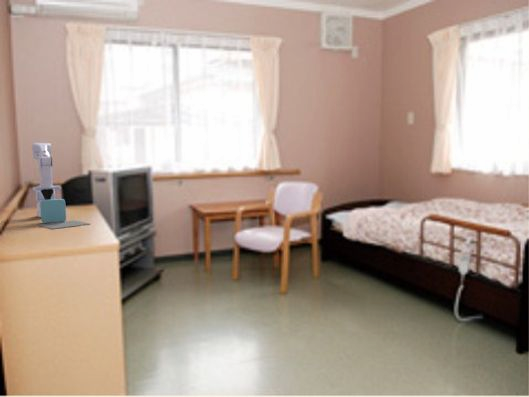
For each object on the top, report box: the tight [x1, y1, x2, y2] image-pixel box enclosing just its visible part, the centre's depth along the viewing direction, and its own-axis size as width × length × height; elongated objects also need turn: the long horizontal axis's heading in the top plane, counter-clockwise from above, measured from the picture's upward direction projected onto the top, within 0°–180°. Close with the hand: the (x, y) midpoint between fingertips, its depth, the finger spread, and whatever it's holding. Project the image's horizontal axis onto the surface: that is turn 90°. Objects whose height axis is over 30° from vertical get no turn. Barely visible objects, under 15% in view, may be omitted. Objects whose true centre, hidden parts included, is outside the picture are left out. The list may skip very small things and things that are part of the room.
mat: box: [37, 219, 91, 230], centre depth 241 cm, size 16×20×1 cm
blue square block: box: [40, 198, 67, 224], centre depth 248 cm, size 12×4×12 cm, turn 113°
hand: (47, 203), depth 254 cm, fingers closed
